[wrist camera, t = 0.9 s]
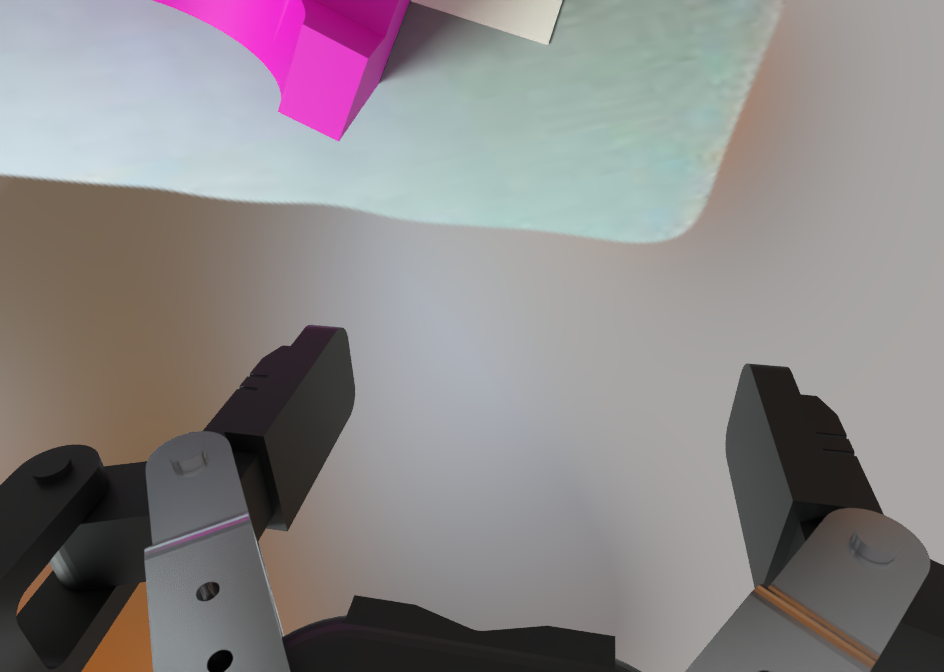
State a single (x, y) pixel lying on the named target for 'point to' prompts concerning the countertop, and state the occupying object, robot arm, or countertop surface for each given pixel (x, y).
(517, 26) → the tile
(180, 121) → the countertop surface
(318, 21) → the toy block
